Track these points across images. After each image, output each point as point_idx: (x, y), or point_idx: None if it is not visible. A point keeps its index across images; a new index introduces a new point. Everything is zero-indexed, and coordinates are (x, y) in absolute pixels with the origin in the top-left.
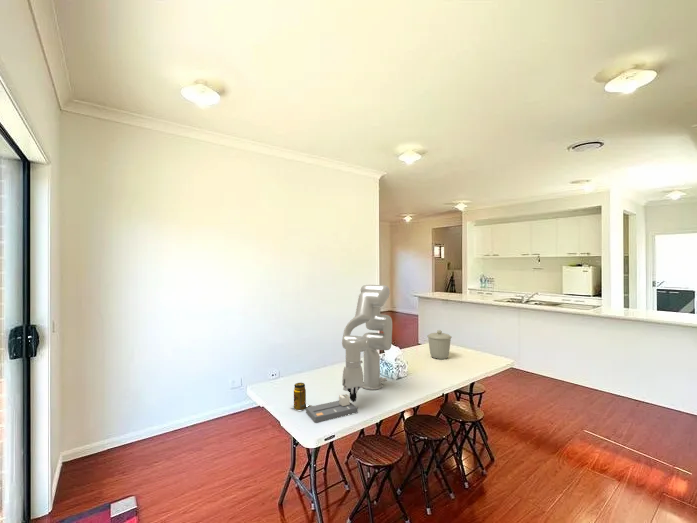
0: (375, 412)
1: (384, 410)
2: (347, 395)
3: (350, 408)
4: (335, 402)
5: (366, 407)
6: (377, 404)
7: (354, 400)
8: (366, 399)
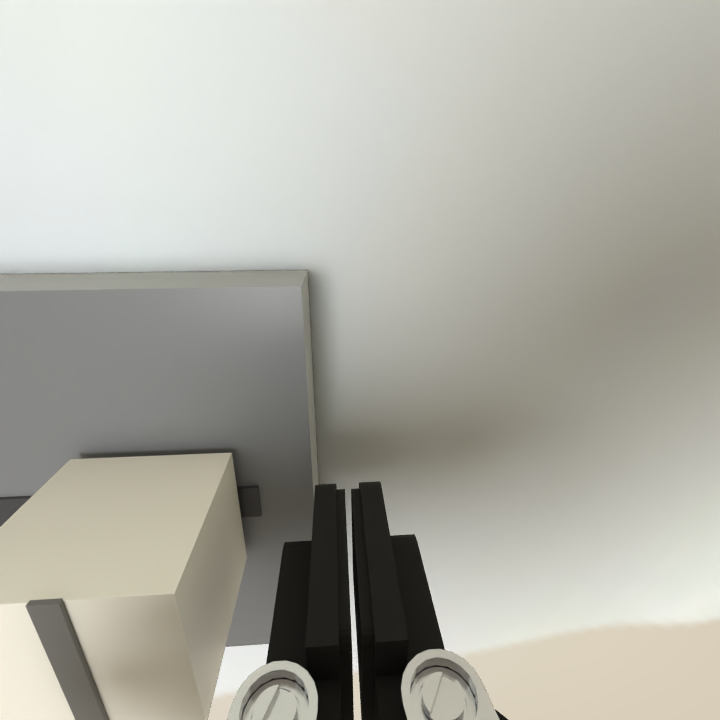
0: (509, 626)
1: (618, 621)
2: (176, 669)
3: None
4: (13, 352)
5: (509, 501)
6: (684, 483)
7: (353, 579)
8: (707, 269)
